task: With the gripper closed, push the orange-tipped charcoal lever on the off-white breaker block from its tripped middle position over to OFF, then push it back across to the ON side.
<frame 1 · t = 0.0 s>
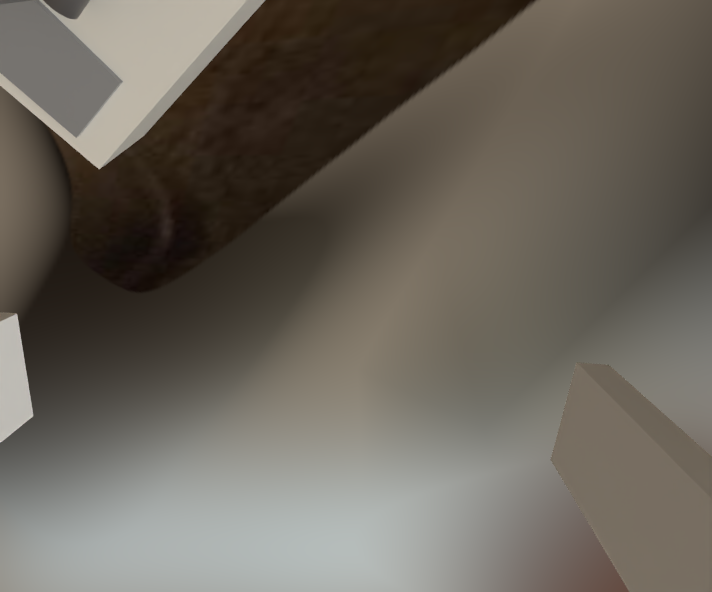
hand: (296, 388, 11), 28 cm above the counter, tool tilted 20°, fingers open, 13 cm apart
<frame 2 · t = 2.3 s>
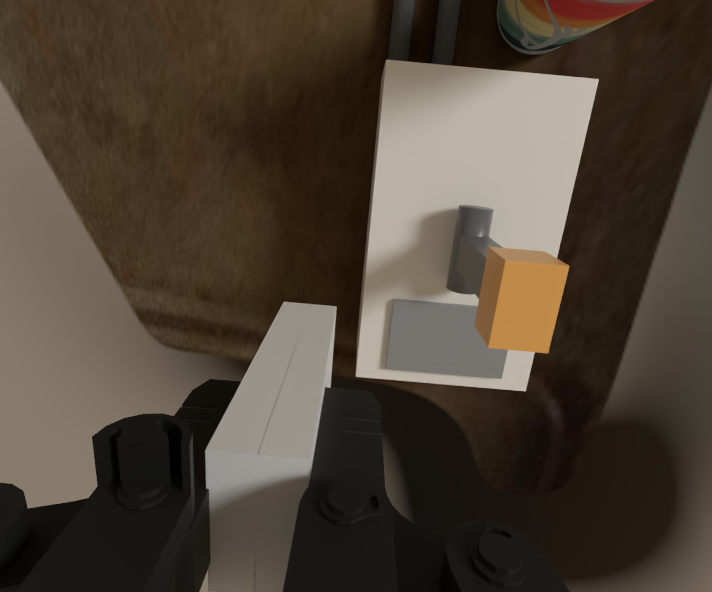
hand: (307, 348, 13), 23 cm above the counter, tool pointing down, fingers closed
parallel rod pair: (425, 7, 30), on the counter
breaker block: (445, 225, 35), on the counter
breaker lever: (489, 269, 23), point 13 cm above the counter, hinge at 0.0°
lotion bottle: (536, 10, 31), on the counter
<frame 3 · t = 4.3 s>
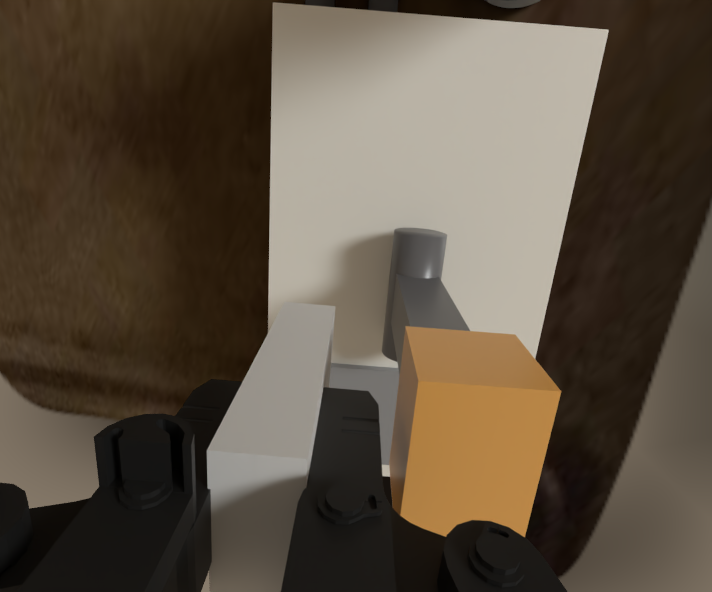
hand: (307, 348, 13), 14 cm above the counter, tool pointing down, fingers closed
breaker block: (397, 248, 26), on the counter
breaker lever: (429, 344, 13), point 13 cm above the counter, hinge at -0.3°, touching gripper
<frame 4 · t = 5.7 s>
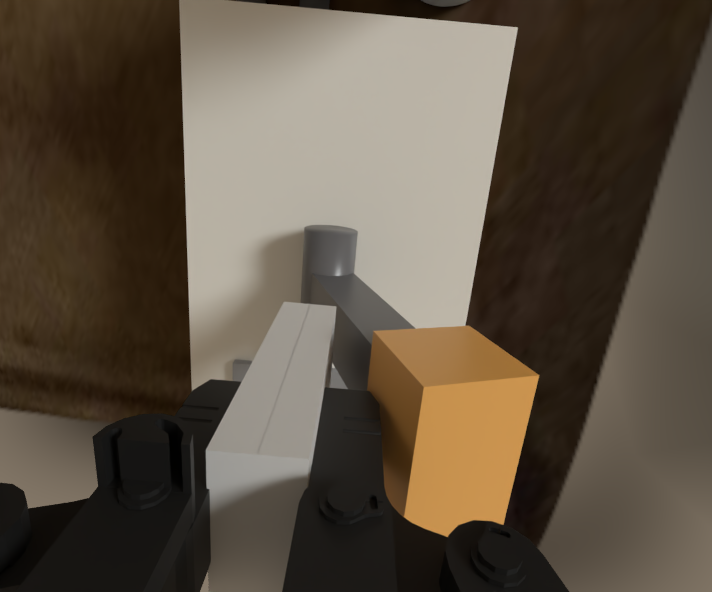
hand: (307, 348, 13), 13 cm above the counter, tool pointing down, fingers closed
breaker block: (338, 247, 26), on the counter
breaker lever: (366, 342, 14), point 13 cm above the counter, hinge at -19.9°, touching gripper
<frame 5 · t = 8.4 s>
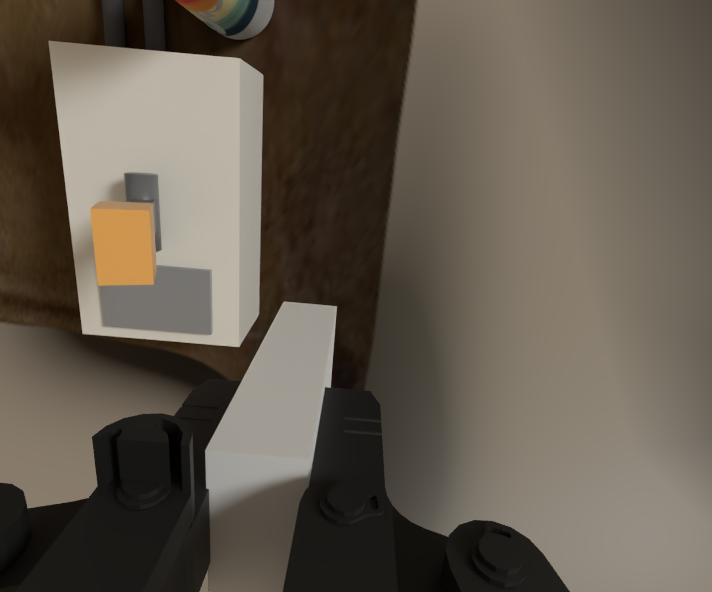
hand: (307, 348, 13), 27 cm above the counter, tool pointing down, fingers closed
breaker block: (190, 198, 38), on the counter
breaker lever: (136, 225, 26), point 13 cm above the counter, hinge at -19.9°
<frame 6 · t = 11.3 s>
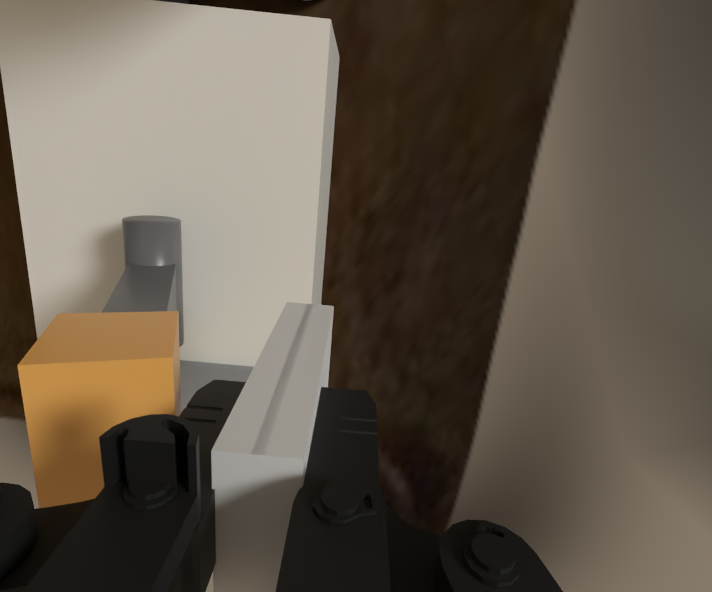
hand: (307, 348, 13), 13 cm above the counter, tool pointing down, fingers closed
breaker block: (219, 241, 26), on the counter
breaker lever: (141, 330, 13), point 13 cm above the counter, hinge at -18.6°, touching gripper
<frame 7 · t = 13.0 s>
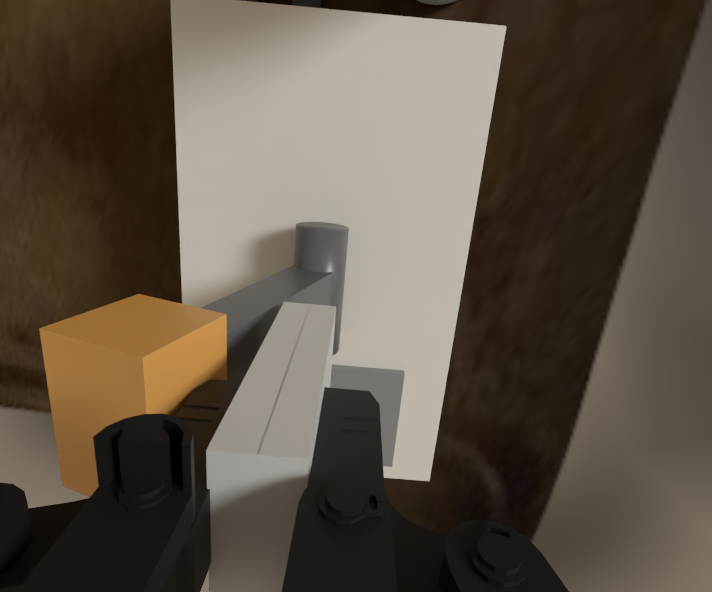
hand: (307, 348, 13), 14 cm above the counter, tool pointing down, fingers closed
breaker block: (332, 244, 26), on the counter
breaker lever: (255, 329, 14), point 13 cm above the counter, hinge at 18.9°, touching gripper
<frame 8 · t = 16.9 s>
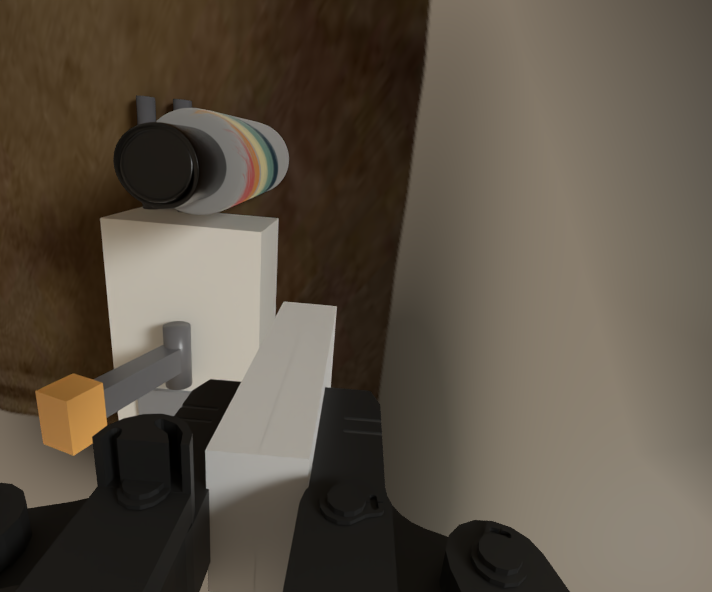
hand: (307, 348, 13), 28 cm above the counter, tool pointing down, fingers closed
parallel rod pair: (169, 156, 39), on the counter
breaker block: (212, 316, 43), on the counter
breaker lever: (131, 381, 31), point 13 cm above the counter, hinge at 19.1°
lotion bottle: (257, 157, 39), on the counter
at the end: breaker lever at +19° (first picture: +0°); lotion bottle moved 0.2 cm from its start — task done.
